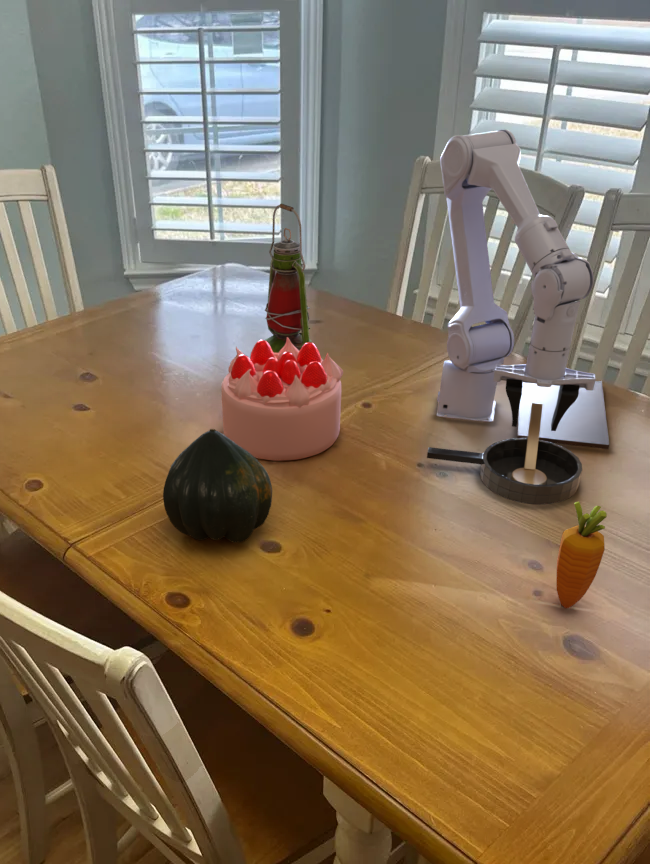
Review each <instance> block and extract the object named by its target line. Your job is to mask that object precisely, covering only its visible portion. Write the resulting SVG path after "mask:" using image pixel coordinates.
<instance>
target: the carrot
mask: <svg viewBox="0 0 650 864" xmlns="http://www.w3.org/2000/svg"><path fill="white" fill-rule="evenodd" d="M573 505H574V509H575V512H576V517H577V523H578V525H574V526H572V527H569V528H566V529H565V530H563V532H562V535H561V537H560V538H561V539H560V543H559V548H558V553H557V560H556V593H557V598H558V600H559V603H560V605H561V607H563V608H564V609H570V608H572V607H573V606H574V605H576V604H577V603H578V602H579V601H580V600H581V599H583V597H584V596H585V595H586V593H588V590H589V589H590V587H591V585H592V584H593V582H594V580H595V578H596V576H597V574H598V571H599V568H600V565H601V563H602V559H603V556H604V553H605V535H603V533H601V532H600V531H602V530H604V529H606V526H605V525H603V524H600V523H602V522H603V521H604V520H605V519H606V518H607V516H608V513H607V511H605V510H601V509H602V506H601V505H595V506H594V507H593V508H592V510H591V511H590V513H588V512H586V513H584V514H583V508H582V505H581V503H580V501H576V502H574V503H573Z"/></svg>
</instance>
